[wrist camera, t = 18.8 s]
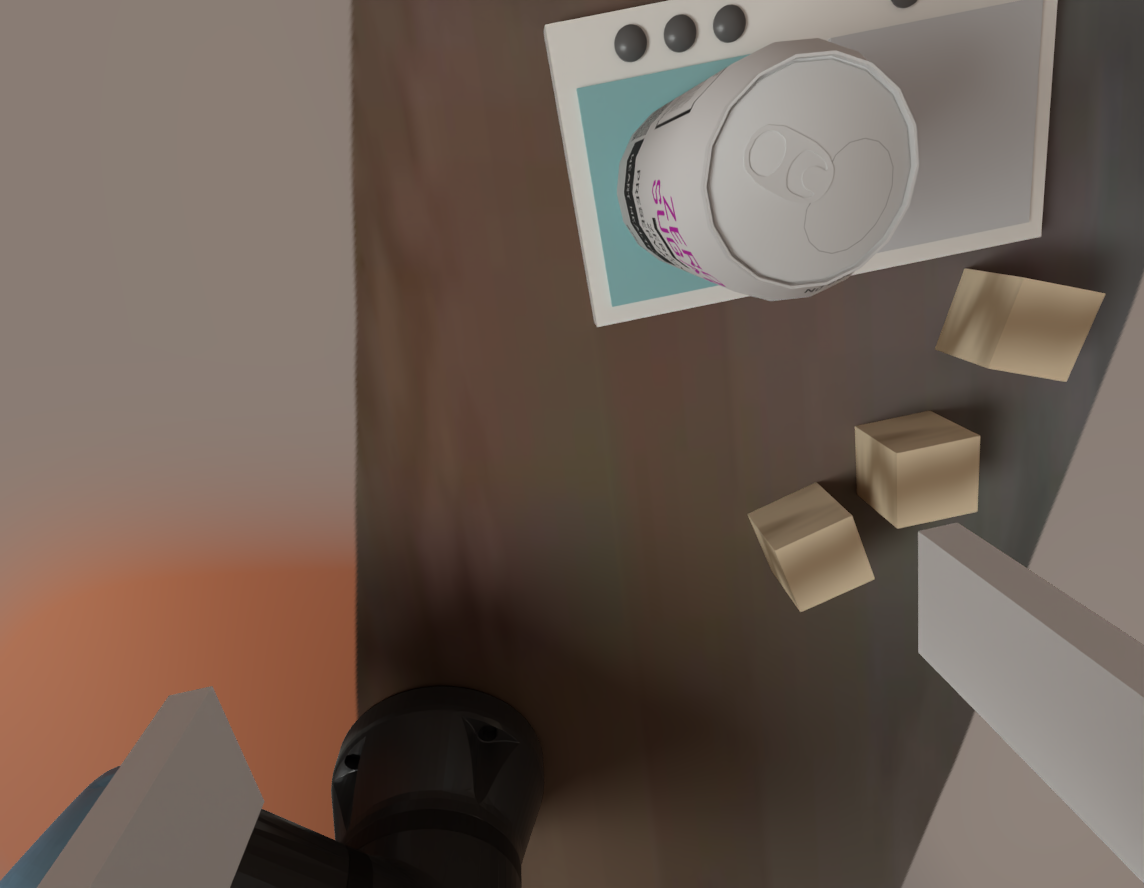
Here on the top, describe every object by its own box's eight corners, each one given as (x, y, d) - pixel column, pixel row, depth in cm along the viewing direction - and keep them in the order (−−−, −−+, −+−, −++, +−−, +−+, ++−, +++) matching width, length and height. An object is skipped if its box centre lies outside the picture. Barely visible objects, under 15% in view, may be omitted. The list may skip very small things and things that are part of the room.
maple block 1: (837, 540, 46) (874, 579, 41) (771, 570, 46) (800, 612, 41) (815, 481, 44) (852, 515, 39) (746, 513, 44) (774, 550, 40)
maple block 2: (928, 479, 45) (977, 511, 40) (856, 494, 44) (897, 528, 40) (928, 410, 43) (980, 435, 38) (854, 425, 43) (896, 453, 38)
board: (1022, 235, 39) (1044, 236, 37) (594, 322, 39) (598, 328, 37) (1040, -66, 34) (1067, -80, 32) (543, 32, 33) (545, 23, 32)
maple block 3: (1004, 361, 42) (1066, 381, 37) (934, 349, 41) (987, 368, 37) (1036, 282, 40) (1105, 293, 36) (963, 268, 40) (1024, 277, 35)
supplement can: (795, 143, 35) (988, 105, 21) (720, 289, 37) (847, 345, 23) (659, 68, 33) (769, -30, 19) (589, 227, 35) (641, 245, 21)
